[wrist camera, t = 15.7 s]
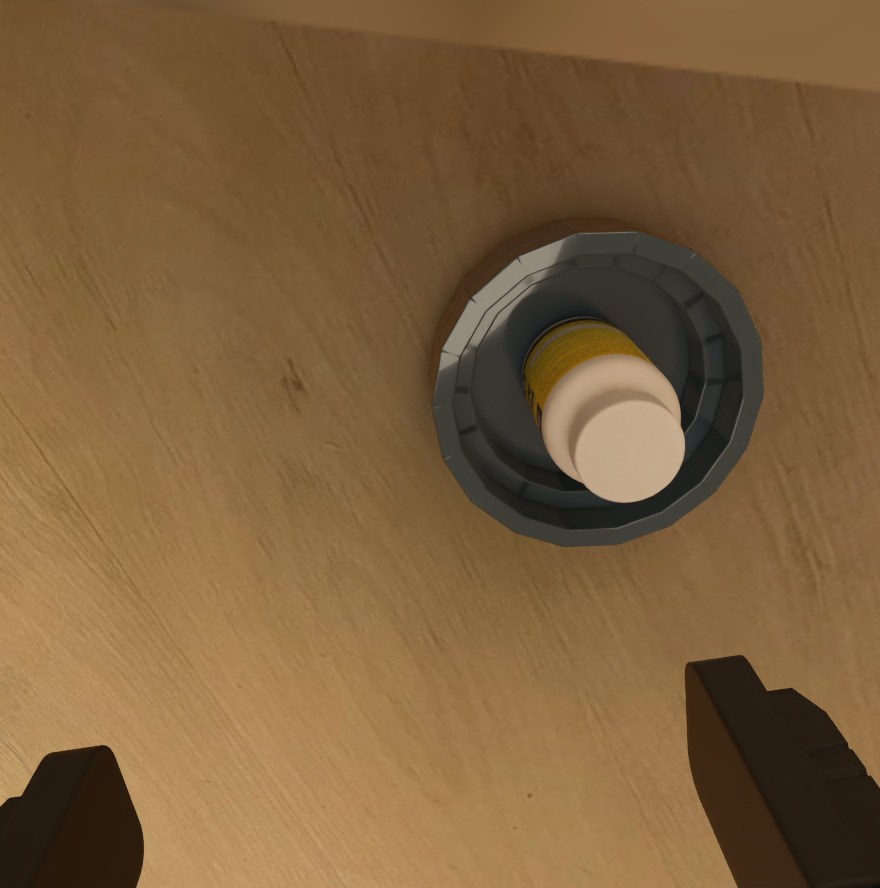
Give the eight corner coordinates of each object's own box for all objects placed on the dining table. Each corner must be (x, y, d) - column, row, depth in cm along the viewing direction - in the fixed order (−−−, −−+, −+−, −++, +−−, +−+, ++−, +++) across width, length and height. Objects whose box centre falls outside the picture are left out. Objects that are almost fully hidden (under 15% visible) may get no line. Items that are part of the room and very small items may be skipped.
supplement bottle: (495, 364, 38) (524, 443, 29) (591, 289, 37) (652, 347, 28) (564, 447, 39) (612, 547, 30) (657, 378, 38) (736, 459, 29)
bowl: (423, 221, 36) (426, 236, 31) (738, 212, 36) (786, 226, 32) (432, 503, 41) (435, 552, 36) (707, 493, 42) (745, 540, 37)
